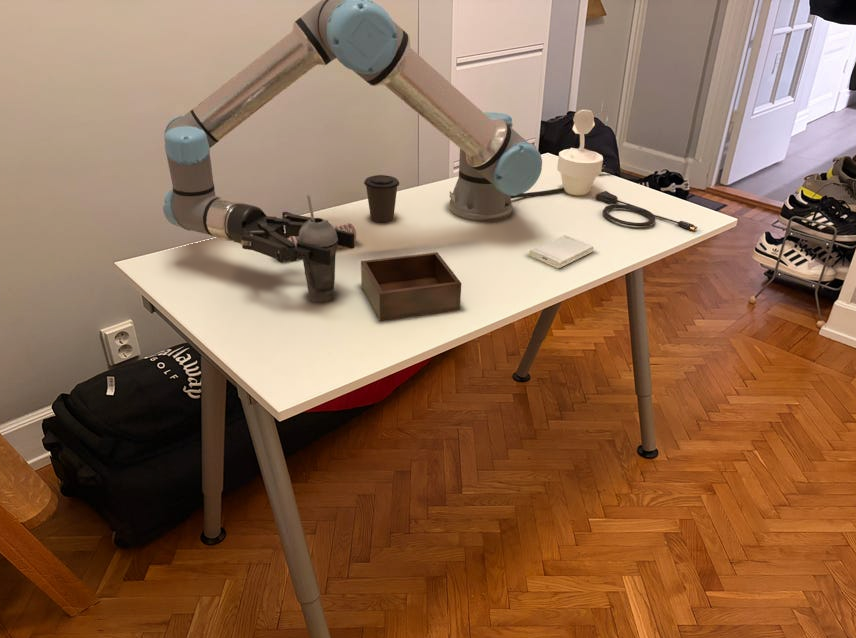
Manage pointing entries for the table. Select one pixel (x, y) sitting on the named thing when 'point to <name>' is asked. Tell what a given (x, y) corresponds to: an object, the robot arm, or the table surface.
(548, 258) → the hard drive
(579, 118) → the potted plant
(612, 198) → the cable
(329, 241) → the beverage cup
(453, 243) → the table surface
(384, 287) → the box
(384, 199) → the coffee cup
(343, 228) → the coil
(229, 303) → the table surface
